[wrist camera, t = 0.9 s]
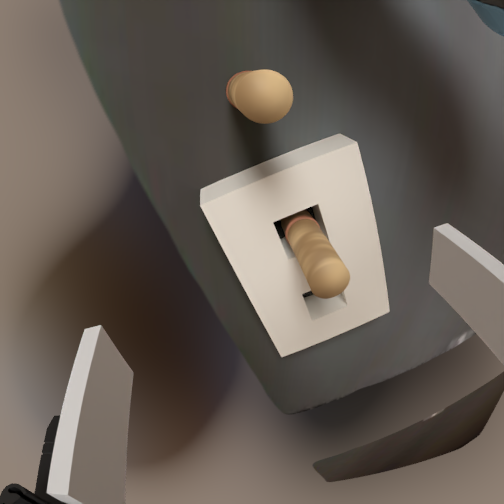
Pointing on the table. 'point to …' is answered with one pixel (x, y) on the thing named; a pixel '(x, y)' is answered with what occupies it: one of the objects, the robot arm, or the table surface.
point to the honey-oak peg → (260, 95)
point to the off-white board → (280, 252)
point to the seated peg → (315, 255)
